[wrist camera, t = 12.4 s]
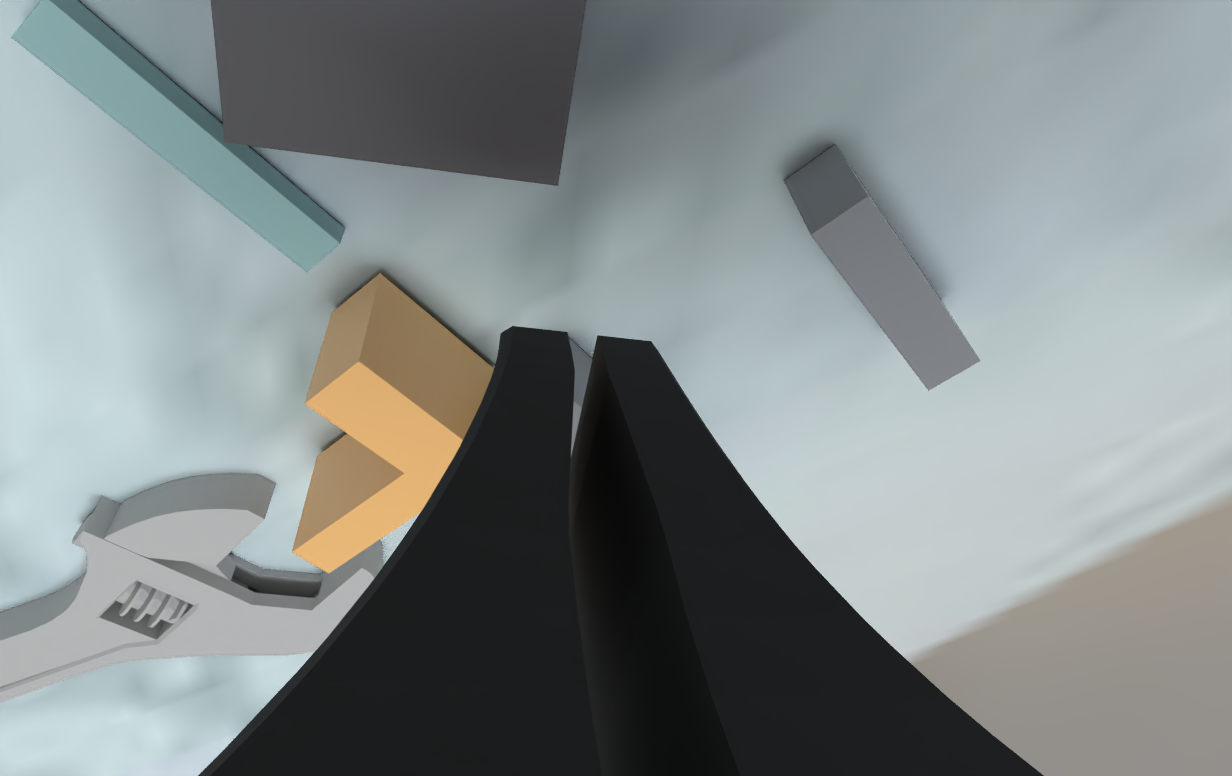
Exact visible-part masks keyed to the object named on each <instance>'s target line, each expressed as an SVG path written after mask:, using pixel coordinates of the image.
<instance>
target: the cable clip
mask: <svg viewBox="0 0 1232 776" xmlns="http://www.w3.org/2000/svg"><path fill="white" fill-rule="evenodd" d="M784 182H785V184H786V186H787V188H788V190H789V192H790V194H791V196H792V198H793V200H794V202H795V204H796V206H797V208H798V210H799V212H800V214H801V216H802V218H803V220H804V222H805V224H806V226H807V228H808V230H809V232H810V234H811V236H812V237H813V239H814V240H815V241H816V242H817V244H818V245H819V246H820V248H821V249H822V250H823V252H824V253H825V254H826V256H827V257H828V258H829V260H830V261H831V262H832V264H833V265H834V266H835V268H836V269H837V270H838V272H839V273H840V274H841V276H842V277H843V278H844V279H845V281H846V282H847V283H848V285H849V286H850V287H851V289H852V290H853V291H854V293H855V294H856V295H857V297H858V298H859V299H860V301H861V302H862V303H863V305H864V306H865V307H866V309H867V310H868V311H869V313H870V314H871V315H872V316H873V318H874V319H875V320H876V322H877V323H878V324H879V326H880V327H881V328H882V330H883V331H884V332H885V334H886V335H887V336H888V338H889V339H890V340H891V342H892V343H893V344H894V346H895V347H896V348H897V350H898V351H899V352H900V354H901V355H902V356H903V357H904V359H905V360H906V361H907V363H908V364H909V365H910V367H911V368H912V369H913V371H914V372H915V373H916V375H917V376H918V377H919V379H920V380H921V381H922V383H923V384H924V385H925V387H926V388H927V389H928V391H929V390H930V389H932V388H934V387H936V386H937V385H939V384H941V383H943V382H944V381H946V380H948V379H949V378H951V377H953V376H955V375H956V374H958V373H960V372H962V371H963V370H965V369H967V368H969V367H970V366H972V365H974V364H976V363H977V362H979V361H980V359H979V358H978V356H977V355H976V353H975V352H974V350H973V349H972V347H971V346H970V344H969V342H968V341H967V339H966V338H965V336H964V335H963V333H962V332H961V330H960V329H959V327H958V326H957V324H956V322H955V321H954V319H953V318H952V316H951V315H950V313H949V312H948V310H947V309H946V307H945V305H944V304H943V302H942V301H941V299H940V298H939V296H938V295H937V294H936V292H935V291H934V289H933V288H932V286H931V285H930V283H929V282H928V280H927V279H926V277H925V276H924V274H923V273H922V271H921V270H920V268H919V267H918V266H917V264H916V263H915V261H914V260H913V258H912V257H911V255H910V254H909V252H908V251H907V249H906V248H905V246H904V245H903V243H902V242H901V240H900V239H899V237H898V236H897V235H896V233H895V232H894V230H893V229H892V227H891V226H890V224H889V223H888V221H887V220H886V218H885V217H884V215H883V214H882V212H881V211H880V209H879V208H878V207H877V205H876V204H875V202H874V201H873V199H872V198H871V196H870V195H869V193H868V192H867V190H866V189H865V187H864V186H863V184H862V183H861V181H860V180H859V179H858V177H857V176H856V174H855V173H854V171H853V170H852V168H851V167H850V165H849V164H848V162H847V161H846V159H845V158H844V156H843V155H842V153H841V152H840V151H839V149H838V148H837V146H836V145H833V146H832V147H831V148H829V149H828V150H826V151H825V152H824V153H822V154H821V155H819V156H818V157H817V158H815V159H814V160H812V161H811V162H810V163H808V164H807V165H805V166H804V167H802V168H801V169H800V170H798V171H797V172H795V173H794V174H793V175H791V176H790V177H788V178H787V179H786V180H784ZM569 342H570V346H571V350H572V356H573V362H574V368H575V382H574V404H573V424H572V444H571V455H572V451H573V446H574V441H575V437H576V432H577V428H578V423H579V419H580V414H581V409H582V405H583V400H584V396H585V391H586V386H587V382H588V377H589V373H590V368H591V363H592V358H590V357H589V356H588V355H587V354H586V353H585V352H584V351H583V350H582V349H581V348H580V347H579V346H578V345H576V344H575V343H574V342H573V341H572V340H571V339H570V338H569Z"/></svg>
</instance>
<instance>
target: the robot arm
mask: <svg viewBox="0 0 1232 776" xmlns="http://www.w3.org/2000/svg"><path fill="white" fill-rule="evenodd" d="M574 382H575V368H574V362H573V356H572V350H571V346H570V342H569V337H568V333H567V332H561V331H552V330H543V329H534V328H525V327H516V326H512V327H510V328H509V329H507V330H505V331H504V332H502V333H501V336H500V343H499V350H498V357H497V361H496V364H495V368H494V371H493V374H492V377H491V379H490V382H489V384H488V387H487V389H486V392H485V394H484V397H483V399H482V402H481V404H480V406H479V408H478V410H477V412H476V414H475V416H474V418H473V420H472V422H471V425H470V427H469V429H468V431H467V433H466V435H465V437H464V439H463V441H462V443H461V445H460V447H459V449H458V451H457V452H456V454H455V456H454V458H453V460H452V461H451V463H450V465H449V466H448V468H447V470H446V471H445V473H444V475H443V476H442V478H441V480H440V481H439V483H438V485H437V486H436V488H435V490H434V491H433V493H432V495H431V496H430V498H429V500H428V502H427V503H426V505H425V507H424V508H423V510H422V511H421V513H420V514H419V516H418V517H417V519H416V520H415V522H414V523H413V525H412V526H411V528H410V529H409V531H408V532H407V534H406V535H405V537H404V538H403V540H402V541H401V542H400V544H399V545H398V547H397V548H396V550H395V551H394V552H393V554H392V555H391V556H390V558H389V559H388V561H387V562H386V563H385V565H384V566H383V567H382V569H381V570H380V571H379V573H378V574H377V576H376V577H375V578H374V580H373V581H372V582H371V584H370V585H369V586H368V587H367V589H366V590H365V591H364V592H363V594H362V595H361V596H360V597H359V599H358V600H357V601H356V602H355V604H354V605H353V606H352V607H351V609H350V610H349V611H348V612H347V614H346V615H345V616H344V617H343V619H342V620H341V621H340V622H339V624H338V625H337V626H336V627H335V628H334V630H333V631H332V632H331V633H330V635H329V636H328V637H327V638H326V639H325V641H324V642H323V643H322V644H321V645H320V646H319V648H318V649H317V650H316V651H315V652H314V653H313V655H312V656H311V657H310V658H309V659H308V660H307V661H306V663H305V664H304V665H303V666H302V667H301V668H300V669H299V671H298V672H297V673H296V674H295V675H294V676H293V677H292V678H291V679H290V680H289V681H288V682H287V683H286V684H285V686H284V687H283V688H282V689H281V690H280V691H279V692H278V693H277V694H276V695H275V696H274V697H273V698H272V699H271V700H270V701H269V703H268V704H267V705H266V706H265V707H264V708H263V709H262V710H261V711H260V712H259V713H258V714H257V715H256V716H255V717H254V719H253V720H252V721H251V722H250V723H249V724H248V725H247V726H246V727H245V728H244V729H243V730H242V731H241V732H240V733H239V734H238V736H237V737H236V738H235V739H234V740H233V741H232V742H231V743H230V744H229V745H228V746H227V747H226V748H225V749H224V750H223V751H222V752H221V753H220V754H219V755H218V756H217V757H216V758H215V759H214V760H213V761H212V762H211V763H210V764H209V765H208V766H207V767H206V768H205V769H204V770H203V771H202V772H201V773H200V774H199V775H198V776H1043V775H1042V774H1041V773H1040V772H1038V771H1037V770H1036V769H1035V768H1033V767H1032V766H1031V765H1029V764H1028V763H1027V762H1026V761H1024V760H1023V759H1022V758H1021V757H1019V756H1018V755H1017V754H1016V753H1014V752H1013V751H1012V750H1011V749H1009V748H1008V747H1007V746H1006V745H1004V744H1003V743H1002V742H1001V741H999V740H998V739H997V738H996V737H994V736H993V735H992V734H990V733H989V732H988V731H987V730H986V729H985V728H983V727H982V726H981V725H980V724H979V723H977V722H976V721H975V720H974V719H973V718H971V717H970V716H969V715H968V714H967V713H966V712H964V711H963V710H962V709H961V708H960V707H959V706H957V705H956V704H955V703H954V702H953V701H951V700H950V699H949V698H948V697H947V696H946V695H944V694H943V693H942V692H941V691H940V690H939V689H938V688H937V687H936V686H935V685H934V684H932V683H931V682H930V681H929V680H928V679H927V678H926V677H925V676H924V675H923V674H922V673H920V672H919V671H918V670H917V669H916V668H915V667H914V666H913V665H912V664H911V663H909V662H908V661H907V660H906V659H905V658H904V657H903V656H902V655H901V654H900V653H898V652H897V651H896V650H895V649H894V648H893V647H892V646H891V645H890V644H889V643H888V642H887V641H886V640H885V639H884V638H883V637H882V636H881V635H880V634H878V633H877V632H876V631H875V630H874V629H873V628H872V627H871V626H870V625H869V624H868V623H867V622H866V621H865V620H864V619H863V618H862V617H861V616H860V615H859V614H858V613H857V612H856V611H855V610H854V609H853V607H852V606H851V605H850V604H849V603H848V602H847V601H846V600H845V599H844V598H843V597H842V596H841V595H840V594H839V593H838V592H837V591H836V590H835V588H834V587H833V586H832V585H831V584H830V583H829V582H828V581H827V580H826V579H825V578H824V577H823V576H822V575H821V574H820V573H819V572H818V570H817V569H816V568H815V567H814V566H813V565H812V564H811V563H810V562H809V560H808V559H807V558H806V557H805V556H804V555H803V554H802V553H801V551H800V550H799V549H798V548H797V547H796V546H795V545H794V543H793V542H792V541H791V540H790V539H789V537H788V536H787V535H786V534H785V532H784V531H783V530H782V529H781V527H780V526H779V525H778V524H777V522H776V521H775V520H774V519H773V517H772V516H771V515H770V514H769V512H768V511H767V510H766V509H765V507H764V506H763V505H762V504H761V502H760V501H759V500H758V498H757V497H756V496H755V494H754V493H753V492H752V490H751V489H750V488H749V486H748V485H747V484H746V482H745V481H744V480H743V478H742V477H741V475H740V474H739V473H738V471H737V470H736V468H735V467H734V466H733V464H732V463H731V461H730V460H729V459H728V457H727V456H726V454H725V453H724V452H723V450H722V449H721V447H720V446H719V445H718V443H717V442H716V440H715V439H714V437H713V436H712V434H711V433H710V431H709V430H708V428H707V427H706V425H705V424H704V422H703V421H702V419H701V418H700V416H699V415H698V413H697V412H696V410H695V409H694V407H693V406H692V404H691V403H690V401H689V399H688V398H687V396H686V395H685V393H684V392H683V390H682V388H681V387H680V385H679V384H678V382H677V380H676V379H675V377H674V376H673V374H672V372H671V371H670V369H669V368H668V366H667V364H666V363H665V361H664V360H663V358H662V356H661V355H660V353H659V352H658V350H657V349H656V347H655V346H654V345H653V343H652V342H651V341H643V340H634V339H625V338H616V337H607V336H597V341H596V345H595V350H594V354H593V359H592V363H591V368H590V373H589V377H588V382H587V386H586V391H585V396H584V400H583V405H582V409H581V414H580V419H579V423H578V428H577V432H576V437H575V441H574V446H573V451H572V455H571V444H572V424H573V404H574Z"/></svg>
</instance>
